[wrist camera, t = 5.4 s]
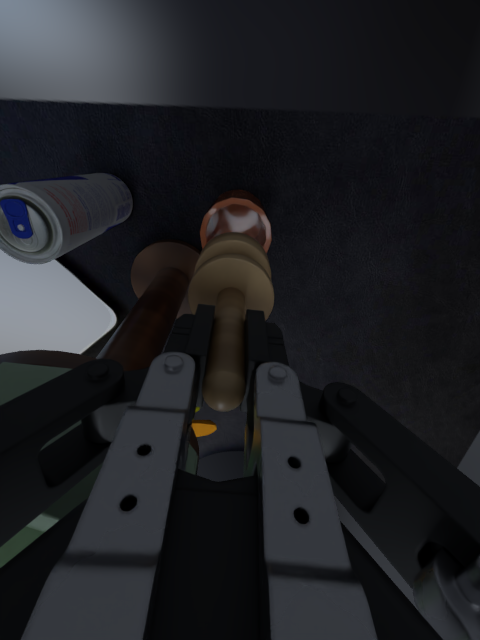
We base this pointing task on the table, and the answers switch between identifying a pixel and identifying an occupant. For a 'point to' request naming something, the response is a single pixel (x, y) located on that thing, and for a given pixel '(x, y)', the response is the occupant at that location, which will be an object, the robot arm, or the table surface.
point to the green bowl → (10, 383)
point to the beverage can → (59, 214)
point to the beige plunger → (230, 310)
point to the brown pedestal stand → (139, 313)
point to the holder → (237, 218)
